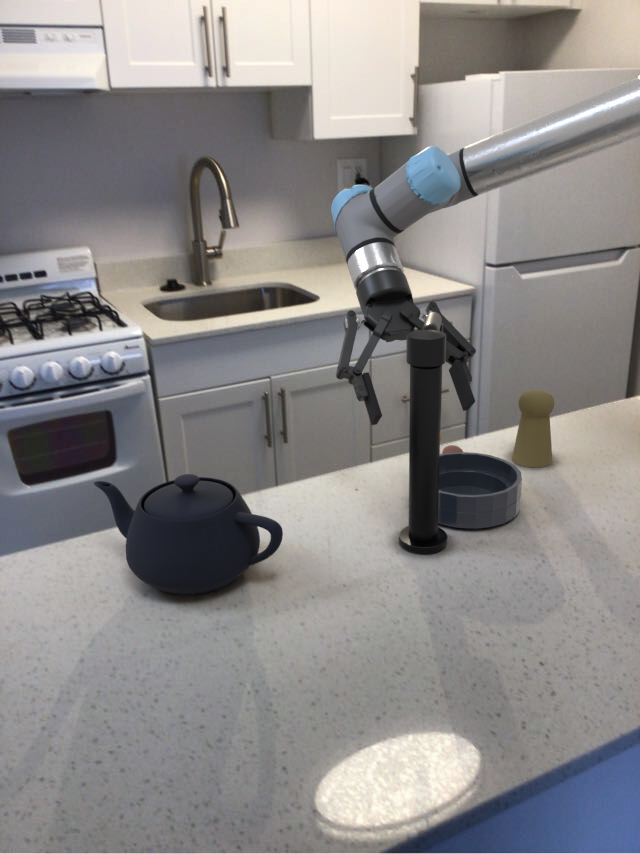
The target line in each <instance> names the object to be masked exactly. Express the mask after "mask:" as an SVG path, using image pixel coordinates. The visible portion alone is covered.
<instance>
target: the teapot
mask: <svg viewBox="0 0 640 854" xmlns="http://www.w3.org/2000/svg"><path fill="white" fill-rule="evenodd" d="M93 485H94V486H95V487H97V488H98V489H99V490H101V491H102V492H103V493H104V494H105V496H106V497H107V499H108V502H109V504H110V506H111V510H112V514H113V515H112V516H113V518H114V522H115V525H116V527H117V529H118V531H119V532H120V534H121V535H122V536H123V537H124V538H125V539H126V540H125V559H126V563H127V565H128V567H129V569H130V571H131V573H133V575H134V576H135V577H136V578H137V579H139V580H140V581H141V582H143V583H144V584H146V585H149V586H150V587H152V588H155V589H157V590H159V591H161V592H163V593H167V594H171V595H179V596H193V595H194V596H196V595H202V594H207V593H212V592H215V591H217V590H220V589H222V588H224V587H227V586H228V585H230V584H231V583H233V582H234V581H235V580H236V579H238V578H239V577H240V576H241V575H242V574H244V573H245V572H246V571H247V570H248V569H249V567H251V566H254V565H256V564H259V563H262V562H263V561H266V560H268V559H269V558H270V557H271V556H273V555H274V554H275V553H276V552H277V551H278V549H279V548H280V546H281V544H282V542H283V536H284V534H283V533H284V531H283V528H282V526H281V524H280V523H279V522H277V521H276V520H275V519H273V518H271V517H267V516H265V515H264V516H263V515H259V514H255V513H252V511H251V509H250V508H249V505H248V504H247V503H246V500H245V498H244V497H243V496H242V495H241V493H240V491H239V490H238V488H236V486H234V485H233V484H231V483H229V482H228V481H225V480H222V479H218V478H215V477H204V476H202V477H201V476H198V475H196V474H193V473H185V474H181V475H179V476H176V477H175V479H173V480H169V481H165V482H163V483H160V484H157V485H156V486H154V487H152V488H150V489H149V490H147V491H146V492H145V493H144V494H143V495H141V497H140V498H139V500H138V502H137V504H136V507H135V508H134V509H135V510H134V509H133V507H132V506H131V505H130V503H129V502H128V500H127V499H126V498H125V496H124V494H123V493H122V492H121V490H120V489H119V488H118V487H117V486H116V485H115V484H113V483H111V482H109V481H103V480H102V481H101V480H98V481H97V480H96V481H94V482H93ZM259 528H261V529H264V530H266V531H267V532H268V533H269V535H270V540H269V543H268V544H267V546H266V548H264V550H262V551H261V552H259V550H260V548H261V547H260V546H261V535H260V531H259Z"/></svg>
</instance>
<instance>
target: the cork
mask: <svg viewBox="0 0 640 854" xmlns="http://www.w3.org/2000/svg"><path fill="white" fill-rule="evenodd" d="M517 404H518V409H519V411H520V412H521V414H520V418H519V422H518V426H517V427H518V428H517V432H516V436H515V441H514V446H513V451H512V456H511V459H512V461H513V462H514V463H515V464H517V465H519V466H522V467H524V468H535V469H538V468H546V467H548V466H550V465H551V464H552V463H553V448H552V434H551V432H552V431H551V413H553V410H554V408H555V398H554V397H553V395H552V394H551V393H550V392H548V391H546V390H542V389H529V390H526V391H523V392H522V393H521V394H520V396H519V397H518V403H517Z"/></svg>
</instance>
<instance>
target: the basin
mask: <svg viewBox="0 0 640 854" xmlns="http://www.w3.org/2000/svg"><path fill="white" fill-rule="evenodd" d="M522 475H523V474H522V472H521V470H520V469H519V468H518V467H517V466H516V465H515V464H513V463H511V462H509V461H508V460H506V459H504V458H501V457H498V456H494V455H492V454H487V453H486V454H485V453H479V452H465V451H463V452H455V453H444V454H442V453H440V461H439V501H438V525H444V526H448V527H452V528H457V529H460V528H461V529H485V528H492V527H495V526H499V525H503V524H506V523H507V522H509V521H511V520H513V519H514V518H516V516H517V515H518V514H519V512H520V510H521V501H522V486H523V477H522Z"/></svg>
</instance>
